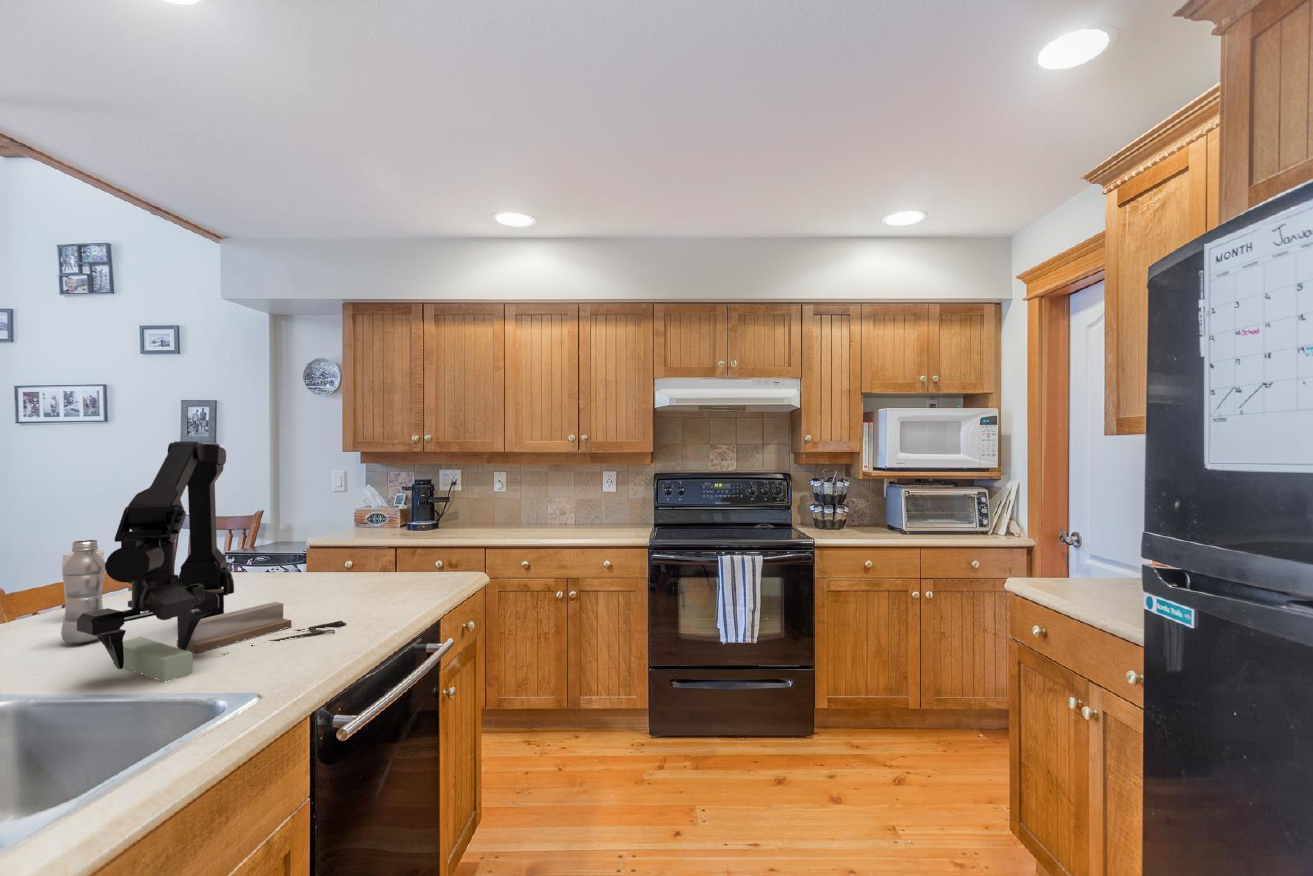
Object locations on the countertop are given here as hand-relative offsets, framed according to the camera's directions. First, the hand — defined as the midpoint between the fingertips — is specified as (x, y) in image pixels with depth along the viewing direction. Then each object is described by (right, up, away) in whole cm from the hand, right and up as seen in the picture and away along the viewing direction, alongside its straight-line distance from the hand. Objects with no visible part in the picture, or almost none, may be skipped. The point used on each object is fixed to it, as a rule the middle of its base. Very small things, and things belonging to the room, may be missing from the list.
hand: (152, 660), depth 105 cm
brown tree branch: (+13, -3, +16) cm, 21 cm away
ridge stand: (+3, -2, +17) cm, 18 cm away
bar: (0, -2, 0) cm, 2 cm away
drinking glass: (-41, -2, +30) cm, 51 cm away
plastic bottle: (-25, -2, +14) cm, 29 cm away
